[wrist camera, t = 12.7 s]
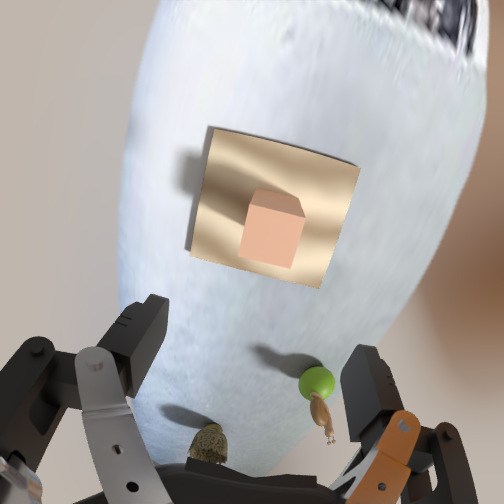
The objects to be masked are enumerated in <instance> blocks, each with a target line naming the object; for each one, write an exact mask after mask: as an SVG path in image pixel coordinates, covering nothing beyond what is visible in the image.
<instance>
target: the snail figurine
mask: <svg viewBox="0 0 504 504" xmlns="http://www.w3.org/2000/svg"><path fill="white" fill-rule="evenodd" d="M334 387H335V379H334V376H333V374H332V373H331V372H330V371H329V370H328V369H326V368H324V367H312V368H309V369H308V370H306V371H305V372H304V373H303V374H302V375H301V377H300V379H299V390H300V393H301V394H302V396H303V397H304V398H306V399H308V400H310V401H311V403H310V411H311V415H312V418H313V420H314V422H315V423H316V424H317V425H318V426H324V428H325V435H326V436H327V437H328V439H329V437H331V436H333V434H334V431H333V428H332V420H331V416H330V413H329V409H328V406H327V405H326V403H325V401H324V399H326V398H328V397H329V396H330V395H331V393H332V392H333V390H334ZM332 443H335V440H334V439H333V441H332ZM327 444H328V445H330V444H331V442H330V441H329V442H327Z"/></svg>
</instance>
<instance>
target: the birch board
mask: <svg viewBox="0 0 504 504" xmlns="http://www.w3.org/2000/svg"><path fill="white" fill-rule="evenodd" d="M360 169H361V168H359V167H356V166H353V165H350V164H348V163H345V162H342V161H339V160H335V159H332V158H329V157H326V156H323V155H320V154H316V153H313V152H309V151H306V150H303V149H299V148H295V147H292V146H288V145H284V144H281V143H277V142H273V141H269V140H265V139H260V138H256V137H252V136H247V135H243V134H238V133H234V132H229V131H224V130H218V129H214V133H213V138H212V142H211V146H210V151H209V156H208V160H207V165H206V170H205V175H204V179H203V185H202V190H201V195H200V200H199V205H198V211H197V216H196V222H195V228H194V234H193V240H192V246H191V252H190V256H191V257H195V258H199V259H202V260H206V261H210V262H214V263H218V264H221V265H225V266H229V267H233V268H237V269H241V270H245V271H249V272H253V273H257V274H261V275H265V276H269V277H273V278H277V279H281V280H285V281H289V282H293V283H297V284H301V285H305V286H309V287H313V288H318V289H319V288H320V286H321V283H322V280H323V278H324V275H325V273H326V270H327V267H328V265H329V262H330V259H331V257H332V254H333V251H334V248H335V246H336V243H337V240H338V237H339V234H340V231H341V229H342V226H343V223H344V220H345V217H346V214H347V211H348V208H349V205H350V202H351V198H352V195H353V192H354V189H355V186H356V182H357V179H358V176H359V172H360ZM256 188H260V189H264V190H268V191H272V192H276V193H280V194H284V195H288V196H292V197H295V198H299V200H300V203H301V206H302V209H303V211H304V214H305V217H306V220H305V223H304V226H303V230H302V233H301V236H300V240H299V243H298V246H297V250H296V253H295V256H294V259H293V262H292V266H291V269H288V268H284V267H280V266H276V265H272V264H268V263H264V262H260V261H256V260H251V259H247V258H243V257H239V256H238V252H239V248H240V243H241V239H242V235H243V230H244V226H245V222H246V217H247V213H248V209H249V204H250V202H251V200H252V197H253V195H254V193H255V191H256Z"/></svg>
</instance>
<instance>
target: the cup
mask: <svg viewBox="0 0 504 504" xmlns="http://www.w3.org/2000/svg"><path fill="white" fill-rule="evenodd" d="M222 431H223V430H222V427H221V426H220V425H218V424H215V423H209V424H207V425H206V426H205V427H204V429H202V430H200V431H199V432H198V433H197V434H196V435H195V437H194V439H193V441H192V444H191V446H190V448H189V451H188V453H189V452H190V453H191V454H190V457H191V458H192V457H193V458H195V459H198V460H203V461H207V462H211V463H218V462H219V464H220V465H221V463H222V462H223V463H226V461H227V439H226V437H225V435H224V434H223V433H222Z"/></svg>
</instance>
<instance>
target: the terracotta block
mask: <svg viewBox="0 0 504 504" xmlns="http://www.w3.org/2000/svg"><path fill="white" fill-rule="evenodd" d="M305 220H306V217H305V214H304V211H303V209H302V206H301V203H300V200H299V198H295V197H292V196H288V195H284V194H280V193H276V192H272V191H268V190H264V189H260V188H256V191H255V193H254V195H253V197H252V200H251V202H250V204H249V209H248V213H247V217H246V222H245V226H244V230H243V235H242V239H241V243H240V248H239V252H238V256H239V257H243V258H247V259H251V260H256V261H260V262H264V263H268V264H272V265H276V266H280V267H284V268H288V269H291V266H292V262H293V259H294V256H295V253H296V250H297V246H298V243H299V240H300V236H301V233H302V230H303V226H304V223H305Z"/></svg>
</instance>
